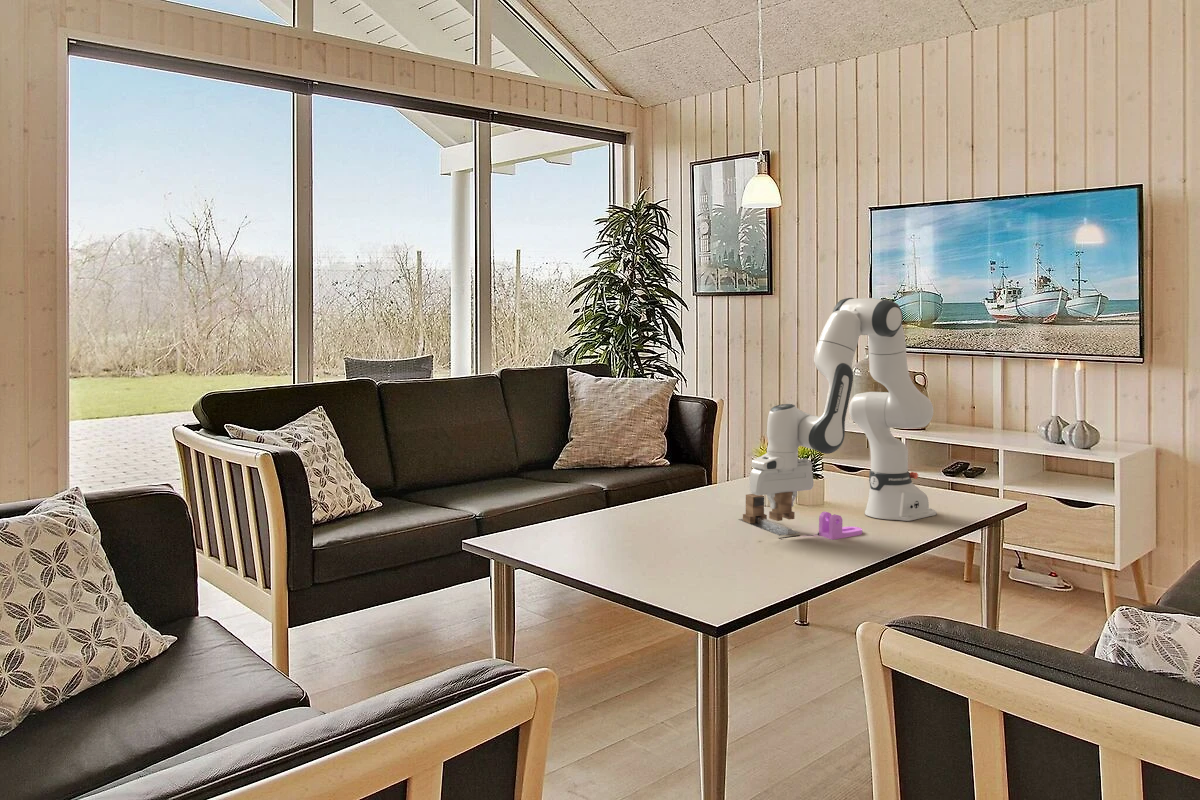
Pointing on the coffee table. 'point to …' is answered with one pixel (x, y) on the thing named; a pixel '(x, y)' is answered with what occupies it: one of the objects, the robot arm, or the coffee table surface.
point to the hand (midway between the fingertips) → (781, 507)
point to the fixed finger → (754, 508)
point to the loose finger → (782, 507)
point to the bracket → (835, 527)
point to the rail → (772, 527)
